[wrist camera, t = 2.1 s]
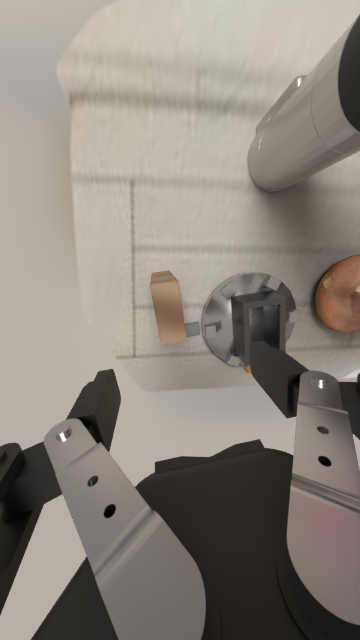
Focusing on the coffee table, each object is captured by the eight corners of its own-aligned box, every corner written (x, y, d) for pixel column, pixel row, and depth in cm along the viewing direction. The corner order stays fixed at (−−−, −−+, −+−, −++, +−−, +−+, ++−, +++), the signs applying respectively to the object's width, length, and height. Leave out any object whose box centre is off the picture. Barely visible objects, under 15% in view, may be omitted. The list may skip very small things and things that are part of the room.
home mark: (177, 325, 40) (177, 326, 39) (198, 321, 40) (198, 322, 39) (179, 336, 40) (179, 337, 40) (199, 333, 41) (200, 334, 40)
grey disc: (196, 280, 37) (205, 286, 30) (291, 265, 38) (321, 267, 32) (207, 373, 43) (216, 396, 37) (289, 358, 45) (313, 376, 38)
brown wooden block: (152, 273, 36) (150, 285, 22) (168, 270, 36) (178, 280, 22) (158, 311, 38) (161, 345, 24) (174, 308, 39) (186, 340, 24)
